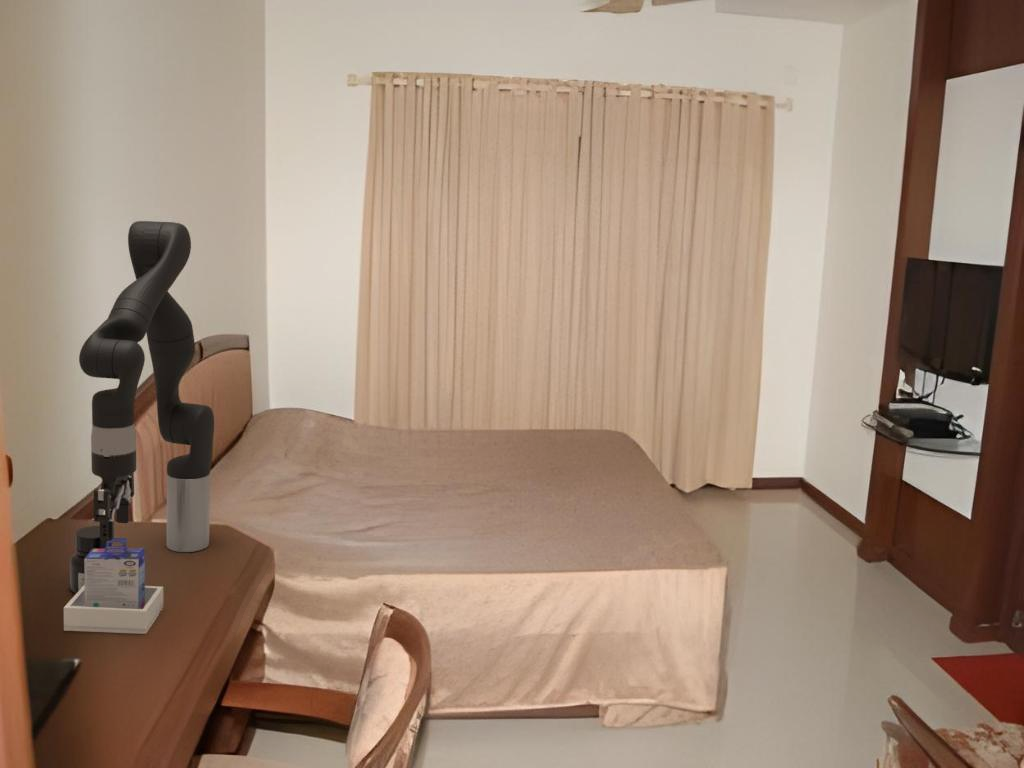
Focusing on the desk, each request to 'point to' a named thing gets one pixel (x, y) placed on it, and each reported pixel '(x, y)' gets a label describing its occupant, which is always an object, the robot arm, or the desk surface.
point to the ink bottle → (83, 554)
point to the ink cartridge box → (115, 577)
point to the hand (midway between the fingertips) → (115, 531)
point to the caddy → (113, 614)
